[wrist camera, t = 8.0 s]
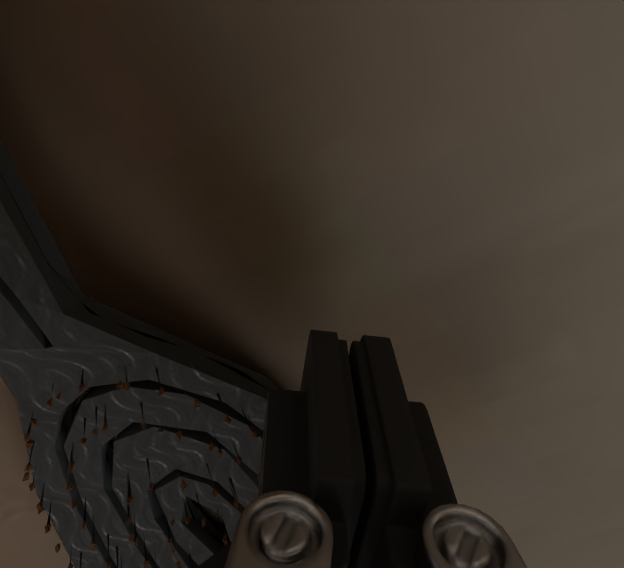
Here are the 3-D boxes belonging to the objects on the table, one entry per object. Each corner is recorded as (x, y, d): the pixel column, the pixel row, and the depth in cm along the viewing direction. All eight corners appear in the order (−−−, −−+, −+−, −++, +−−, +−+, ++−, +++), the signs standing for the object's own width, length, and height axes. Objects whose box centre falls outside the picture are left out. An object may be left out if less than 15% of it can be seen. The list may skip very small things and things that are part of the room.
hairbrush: (-261, -810, 4) (432, 754, 15) (-9, -436, 7) (408, 619, 18) (-962, -351, 5) (155, 805, 16) (-465, -202, 8) (181, 668, 19)
